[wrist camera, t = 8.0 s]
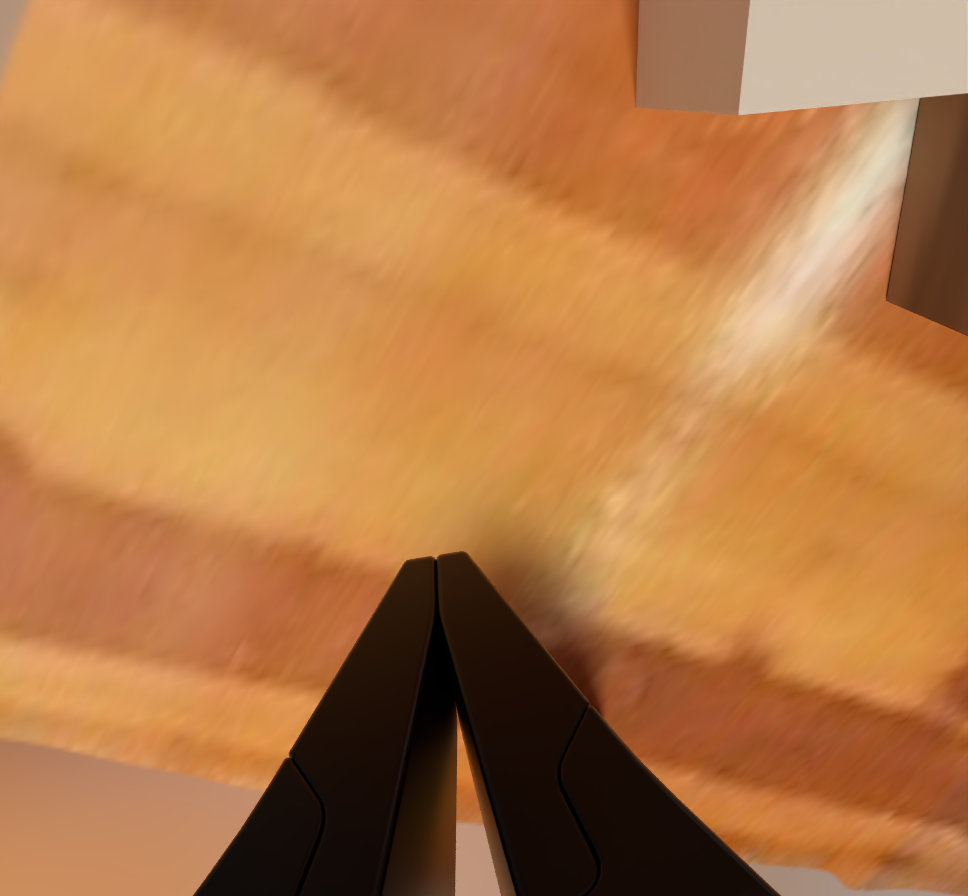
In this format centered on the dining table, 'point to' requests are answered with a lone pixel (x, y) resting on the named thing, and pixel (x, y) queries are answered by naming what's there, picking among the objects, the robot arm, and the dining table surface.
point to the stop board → (935, 217)
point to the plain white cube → (797, 53)
